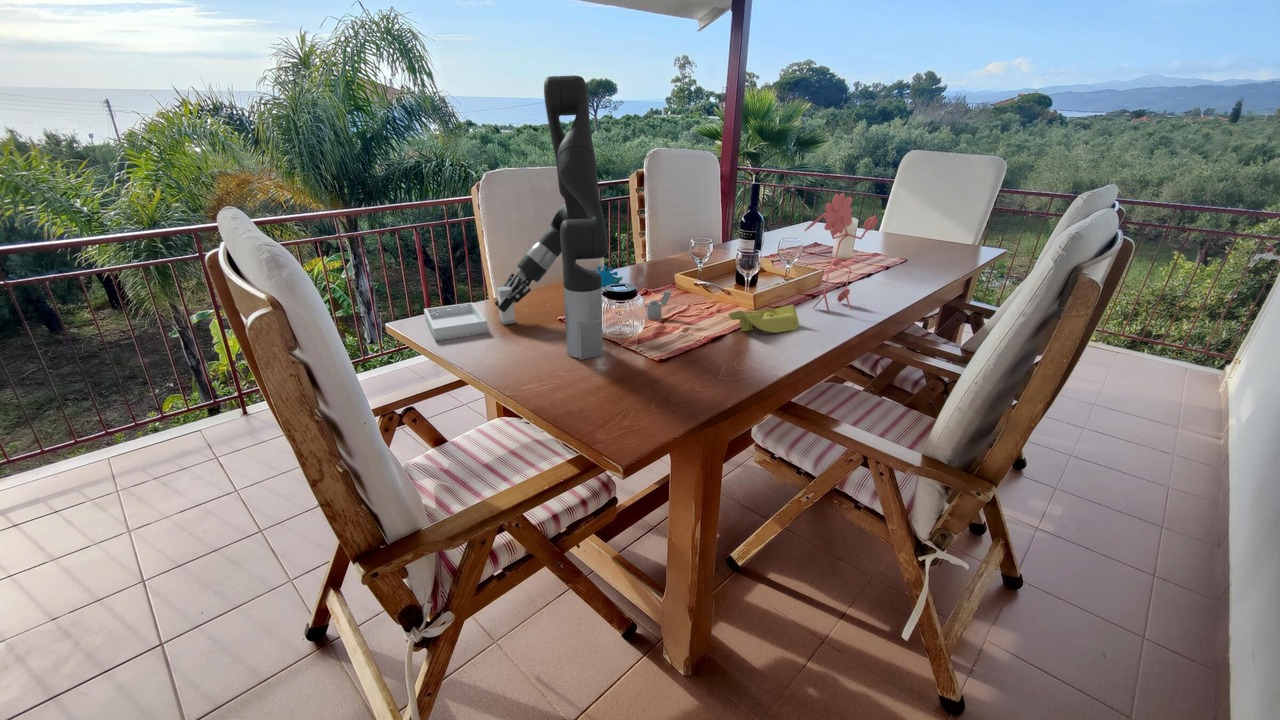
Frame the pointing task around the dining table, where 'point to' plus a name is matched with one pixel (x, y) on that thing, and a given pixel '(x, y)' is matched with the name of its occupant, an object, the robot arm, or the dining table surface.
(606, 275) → the blue irregular piece
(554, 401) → the dining table surface
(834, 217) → the pink flower stick figure
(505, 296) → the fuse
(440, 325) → the parts tray
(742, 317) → the plastic component
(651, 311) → the lighter
